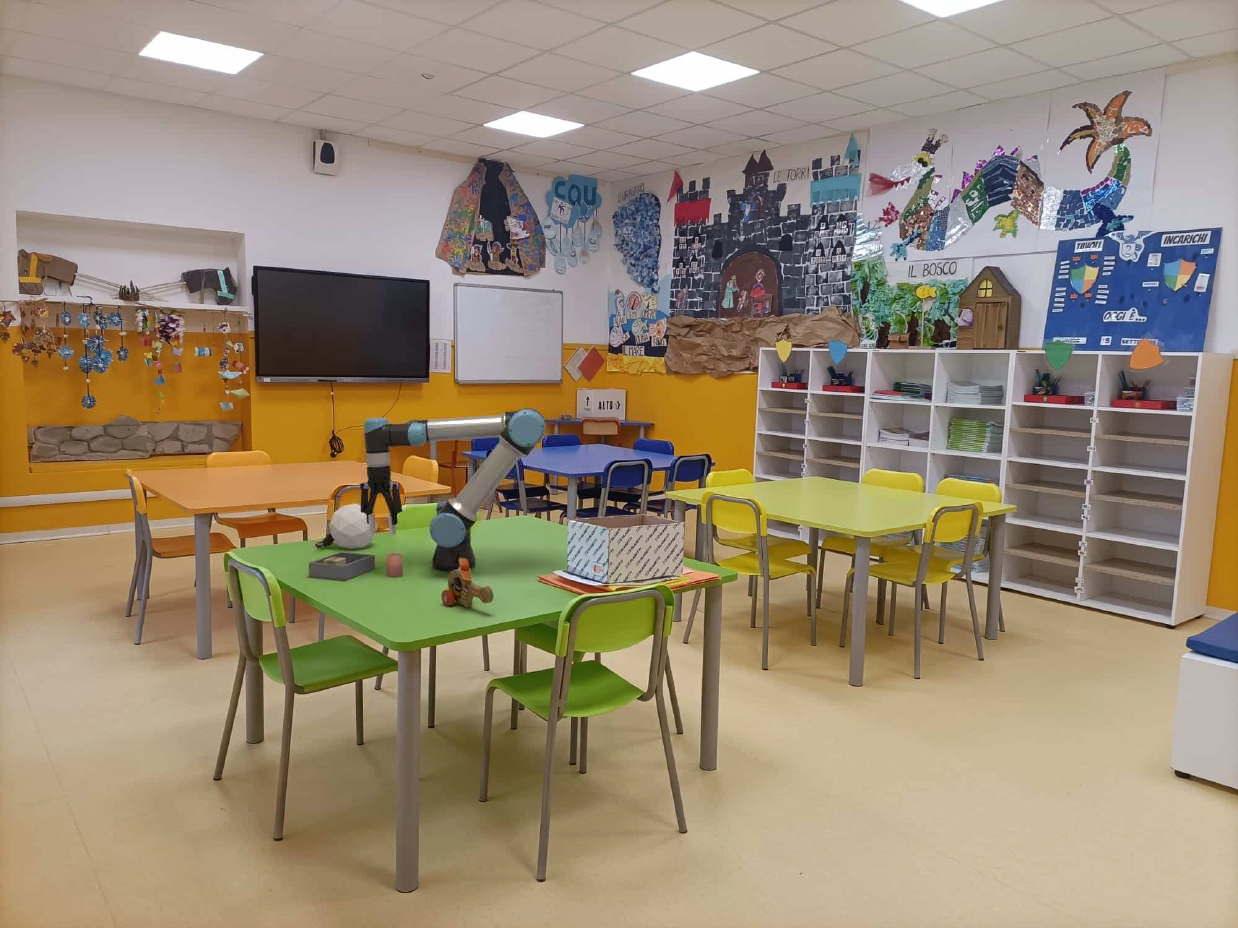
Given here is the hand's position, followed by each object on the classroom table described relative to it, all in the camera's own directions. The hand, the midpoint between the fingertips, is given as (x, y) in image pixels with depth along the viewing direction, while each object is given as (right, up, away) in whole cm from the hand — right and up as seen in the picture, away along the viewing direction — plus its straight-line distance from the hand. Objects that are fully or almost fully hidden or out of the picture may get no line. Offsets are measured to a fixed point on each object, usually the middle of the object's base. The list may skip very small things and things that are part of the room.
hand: (382, 533), depth 288 cm
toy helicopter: (+34, -19, -34) cm, 52 cm away
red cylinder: (+3, -14, +2) cm, 15 cm away
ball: (-26, -9, +43) cm, 51 cm away
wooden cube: (-16, -13, 0) cm, 21 cm away
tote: (-15, -14, +4) cm, 21 cm away
